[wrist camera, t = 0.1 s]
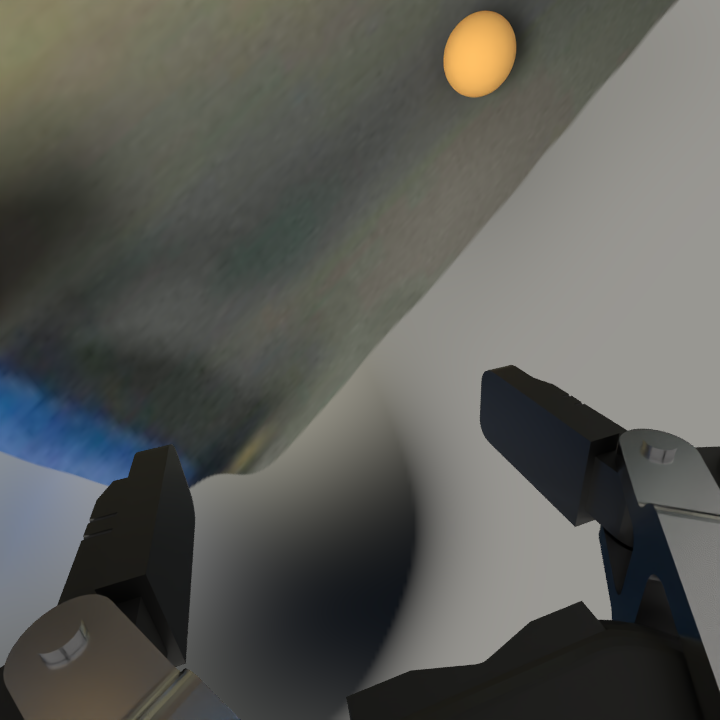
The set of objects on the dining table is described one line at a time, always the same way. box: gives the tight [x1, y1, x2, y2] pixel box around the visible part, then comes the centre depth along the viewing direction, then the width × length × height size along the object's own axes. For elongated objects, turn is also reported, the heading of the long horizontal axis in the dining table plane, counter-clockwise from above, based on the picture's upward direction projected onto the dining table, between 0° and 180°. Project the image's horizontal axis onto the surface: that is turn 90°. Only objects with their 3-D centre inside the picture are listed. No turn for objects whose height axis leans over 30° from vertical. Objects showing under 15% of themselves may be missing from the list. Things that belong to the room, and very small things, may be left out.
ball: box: [444, 11, 516, 97], centre depth 33 cm, size 6×6×6 cm
